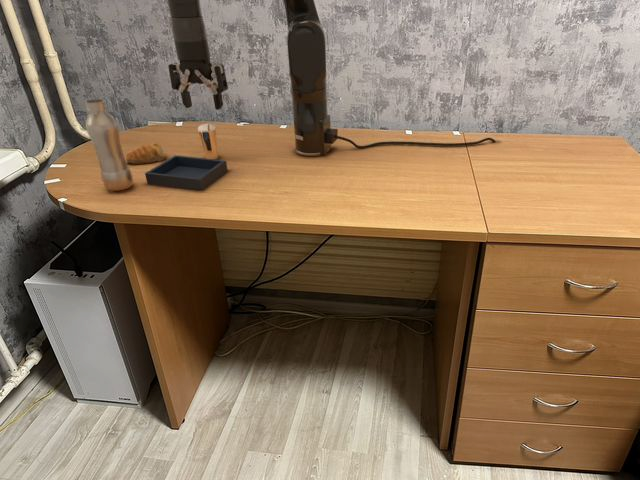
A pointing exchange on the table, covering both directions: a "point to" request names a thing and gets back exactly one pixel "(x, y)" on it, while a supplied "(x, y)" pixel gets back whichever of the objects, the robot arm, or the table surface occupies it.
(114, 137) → the plastic bottle
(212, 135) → the milkshake
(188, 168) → the tray
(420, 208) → the table surface
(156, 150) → the pastry
